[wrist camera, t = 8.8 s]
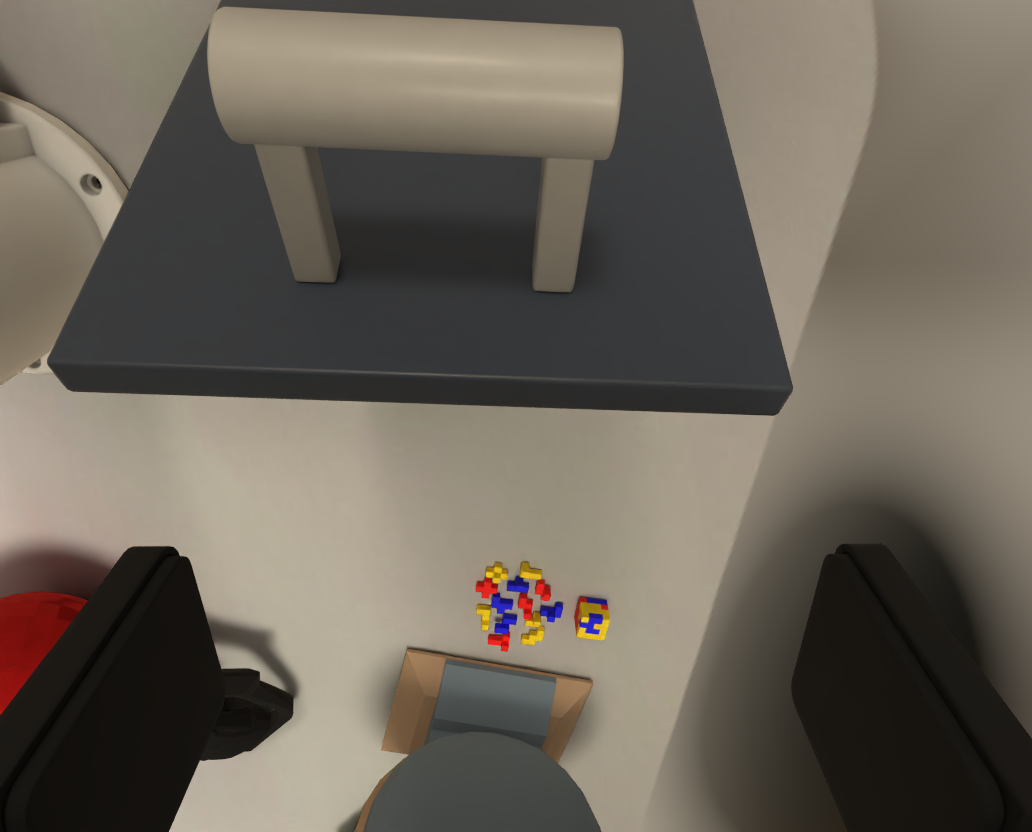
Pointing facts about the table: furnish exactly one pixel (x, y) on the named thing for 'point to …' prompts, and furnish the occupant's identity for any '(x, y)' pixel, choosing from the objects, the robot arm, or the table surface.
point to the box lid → (437, 217)
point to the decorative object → (46, 615)
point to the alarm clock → (479, 751)
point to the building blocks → (587, 617)
